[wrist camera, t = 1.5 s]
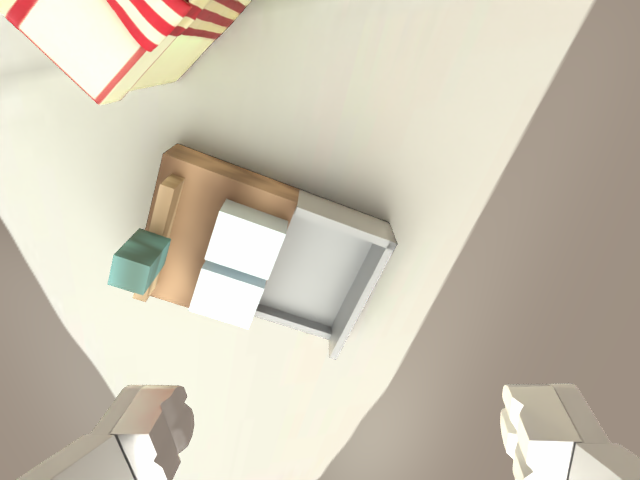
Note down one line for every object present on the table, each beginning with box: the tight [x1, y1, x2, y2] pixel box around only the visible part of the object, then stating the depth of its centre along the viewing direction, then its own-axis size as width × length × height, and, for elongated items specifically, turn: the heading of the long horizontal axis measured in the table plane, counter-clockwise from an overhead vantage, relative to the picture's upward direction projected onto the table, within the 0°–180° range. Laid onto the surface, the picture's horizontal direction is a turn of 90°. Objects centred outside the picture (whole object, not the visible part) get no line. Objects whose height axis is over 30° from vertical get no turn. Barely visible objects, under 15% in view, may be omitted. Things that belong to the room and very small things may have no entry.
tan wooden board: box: [145, 144, 300, 308], centre depth 42 cm, size 12×15×4 cm
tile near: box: [205, 199, 288, 280], centre depth 38 cm, size 6×5×3 cm
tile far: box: [188, 260, 266, 329], centre depth 41 cm, size 6×5×3 cm
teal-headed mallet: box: [108, 174, 185, 302], centre depth 36 cm, size 3×12×8 cm, turn 158°
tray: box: [254, 190, 397, 360], centre depth 43 cm, size 10×15×5 cm, turn 158°
